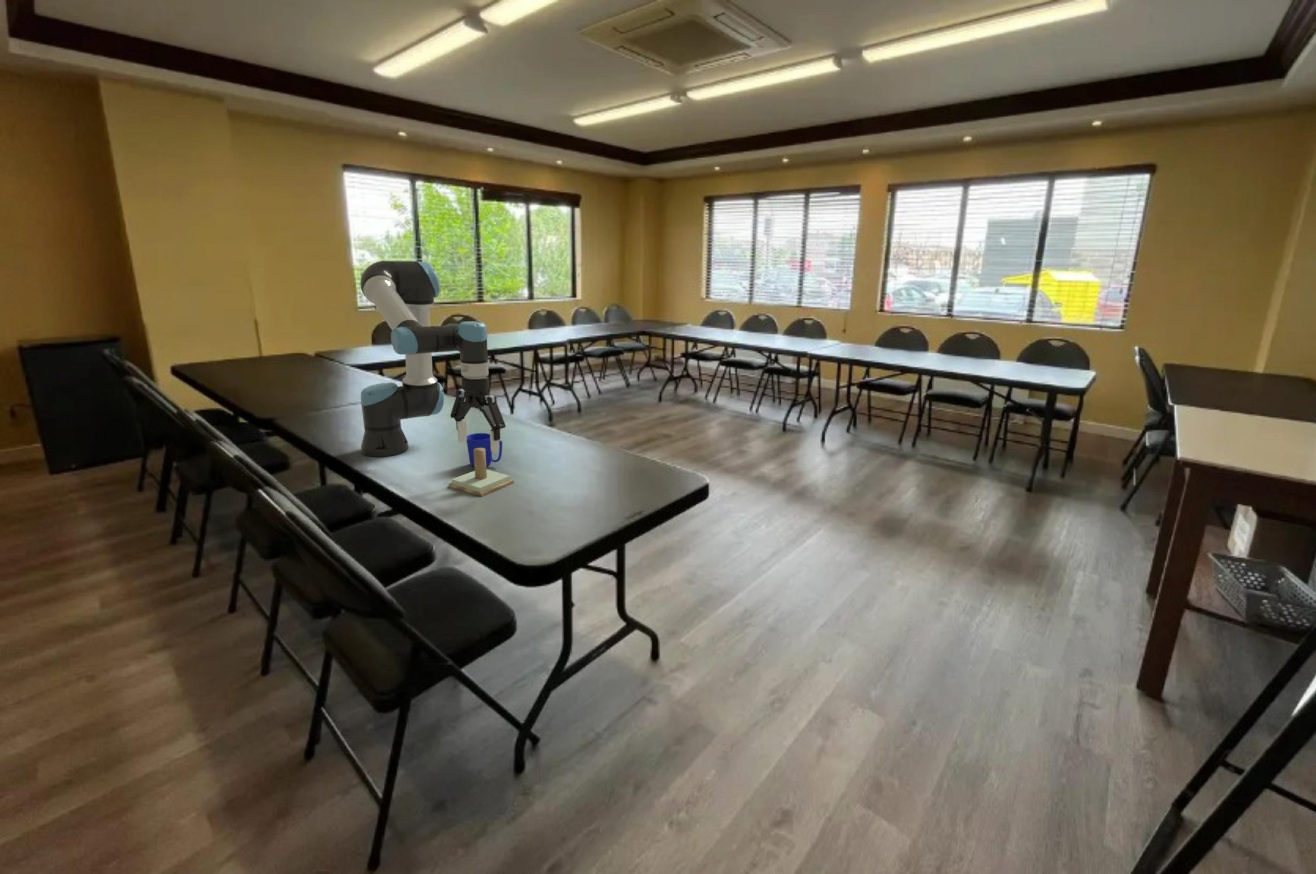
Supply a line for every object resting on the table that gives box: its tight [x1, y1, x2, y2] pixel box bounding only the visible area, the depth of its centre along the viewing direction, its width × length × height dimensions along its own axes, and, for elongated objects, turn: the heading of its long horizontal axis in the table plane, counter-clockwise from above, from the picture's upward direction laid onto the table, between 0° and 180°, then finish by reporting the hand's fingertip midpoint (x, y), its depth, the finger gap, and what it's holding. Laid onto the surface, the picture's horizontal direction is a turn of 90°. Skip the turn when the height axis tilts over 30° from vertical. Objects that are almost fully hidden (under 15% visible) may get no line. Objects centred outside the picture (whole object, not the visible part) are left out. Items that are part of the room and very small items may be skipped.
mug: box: [466, 432, 503, 468], centre depth 190 cm, size 8×12×10 cm
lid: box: [451, 448, 511, 493], centre depth 174 cm, size 12×12×10 cm
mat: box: [448, 479, 515, 497], centre depth 175 cm, size 14×13×1 cm
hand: (478, 445), depth 172 cm, fingers open, 13 cm apart
